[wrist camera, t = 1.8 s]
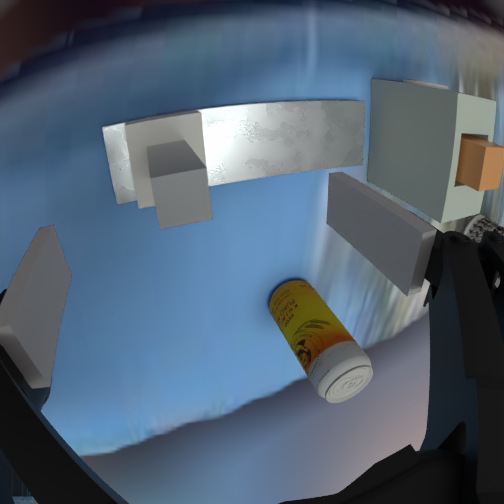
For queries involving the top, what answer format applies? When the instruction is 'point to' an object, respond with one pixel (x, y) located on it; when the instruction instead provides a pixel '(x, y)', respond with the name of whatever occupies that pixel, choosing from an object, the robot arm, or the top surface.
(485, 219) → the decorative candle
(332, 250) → the top surface
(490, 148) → the button
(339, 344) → the beer can
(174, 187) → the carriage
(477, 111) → the white block
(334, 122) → the rail
